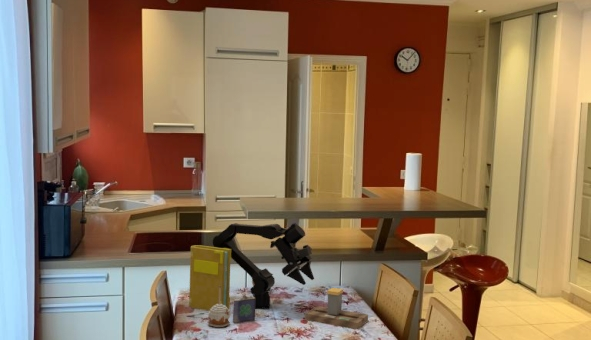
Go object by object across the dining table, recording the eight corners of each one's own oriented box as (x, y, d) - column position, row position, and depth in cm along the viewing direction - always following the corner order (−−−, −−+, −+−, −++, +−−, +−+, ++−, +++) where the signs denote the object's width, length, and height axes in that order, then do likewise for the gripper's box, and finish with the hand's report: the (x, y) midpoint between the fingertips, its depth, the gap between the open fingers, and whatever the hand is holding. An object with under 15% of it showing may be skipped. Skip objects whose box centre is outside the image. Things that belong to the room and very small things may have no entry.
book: (229, 309, 239) (231, 249, 237) (220, 313, 232) (222, 251, 231) (195, 303, 246) (196, 244, 244) (185, 306, 240) (187, 247, 238)
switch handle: (326, 318, 228) (327, 290, 227) (331, 314, 233) (332, 287, 232) (337, 320, 226) (338, 292, 225) (342, 316, 231) (343, 289, 230)
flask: (234, 323, 220) (235, 296, 220) (231, 321, 223) (232, 294, 222) (256, 320, 225) (257, 293, 224) (252, 318, 227) (253, 291, 227)
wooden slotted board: (304, 319, 228) (305, 312, 228) (316, 311, 239) (317, 305, 239) (357, 329, 219) (357, 322, 219) (367, 320, 230) (368, 314, 229)
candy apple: (230, 327, 216) (232, 288, 215) (210, 328, 213) (211, 288, 213) (227, 321, 223) (228, 282, 222) (207, 322, 221) (208, 283, 220)
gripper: (291, 242, 227) (315, 275, 223) (309, 235, 244) (331, 266, 240) (271, 258, 230) (294, 291, 227) (290, 251, 247) (312, 281, 244)
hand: (309, 281), depth 235 cm, fingers open, 9 cm apart
